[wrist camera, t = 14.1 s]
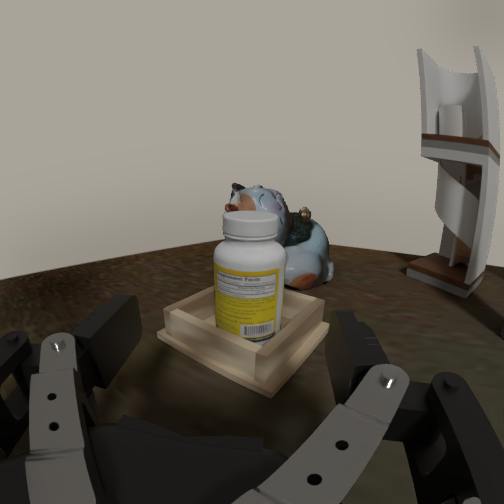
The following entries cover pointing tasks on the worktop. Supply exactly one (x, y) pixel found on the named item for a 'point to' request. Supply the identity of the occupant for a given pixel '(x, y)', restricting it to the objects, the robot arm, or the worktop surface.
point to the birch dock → (241, 350)
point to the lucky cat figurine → (290, 235)
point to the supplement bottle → (249, 276)
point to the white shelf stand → (460, 170)
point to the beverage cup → (502, 331)
